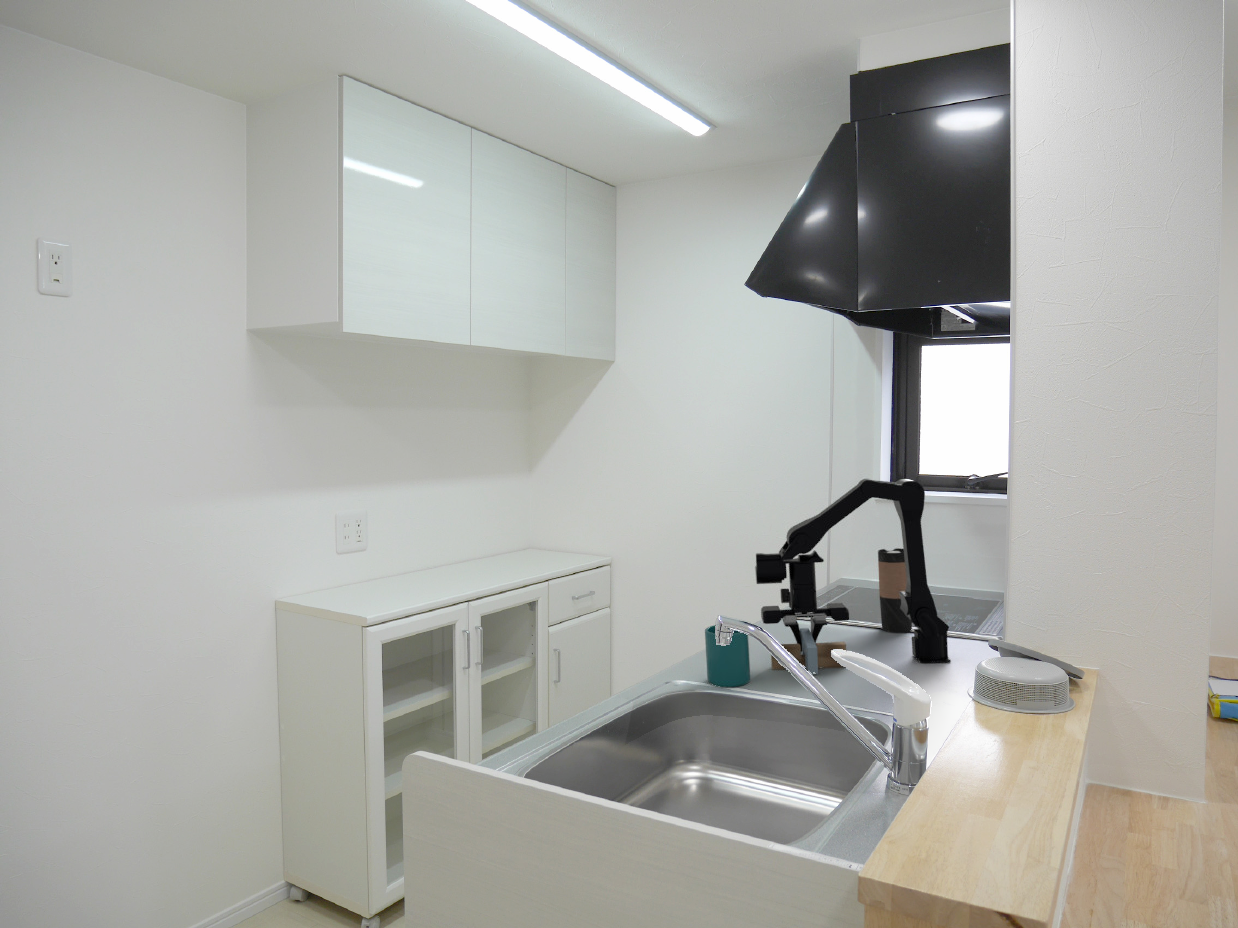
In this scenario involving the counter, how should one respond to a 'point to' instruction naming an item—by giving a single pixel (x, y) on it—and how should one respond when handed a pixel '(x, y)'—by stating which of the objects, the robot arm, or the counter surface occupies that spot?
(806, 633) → the slate block
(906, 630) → the travel mug
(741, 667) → the cup
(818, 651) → the walnut board
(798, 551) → the robot arm
